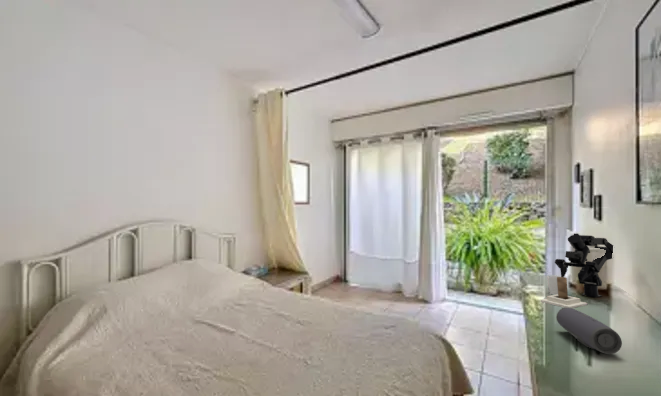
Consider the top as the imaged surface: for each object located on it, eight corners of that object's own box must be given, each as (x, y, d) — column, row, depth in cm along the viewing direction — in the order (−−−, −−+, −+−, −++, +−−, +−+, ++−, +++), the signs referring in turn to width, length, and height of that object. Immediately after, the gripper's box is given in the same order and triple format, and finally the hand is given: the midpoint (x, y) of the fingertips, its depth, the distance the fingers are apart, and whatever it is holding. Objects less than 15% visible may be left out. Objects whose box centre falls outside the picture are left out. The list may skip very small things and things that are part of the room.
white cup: (545, 294, 175) (544, 276, 175) (553, 292, 178) (552, 274, 179) (560, 297, 168) (559, 278, 168) (568, 295, 171) (567, 277, 172)
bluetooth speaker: (625, 359, 97) (623, 327, 98) (592, 357, 99) (589, 326, 100) (582, 332, 120) (580, 306, 120) (555, 331, 122) (554, 305, 122)
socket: (558, 298, 166) (557, 292, 166) (587, 305, 153) (587, 298, 153) (540, 301, 161) (540, 295, 161) (569, 308, 148) (569, 302, 148)
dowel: (564, 302, 159) (562, 276, 159) (570, 304, 155) (568, 278, 155) (556, 302, 159) (554, 277, 160) (562, 304, 155) (560, 278, 156)
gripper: (554, 244, 172) (545, 267, 166) (593, 246, 155) (585, 271, 150) (564, 256, 175) (555, 279, 169) (604, 259, 158) (595, 284, 153)
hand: (571, 278), depth 160 cm, fingers open, 9 cm apart
